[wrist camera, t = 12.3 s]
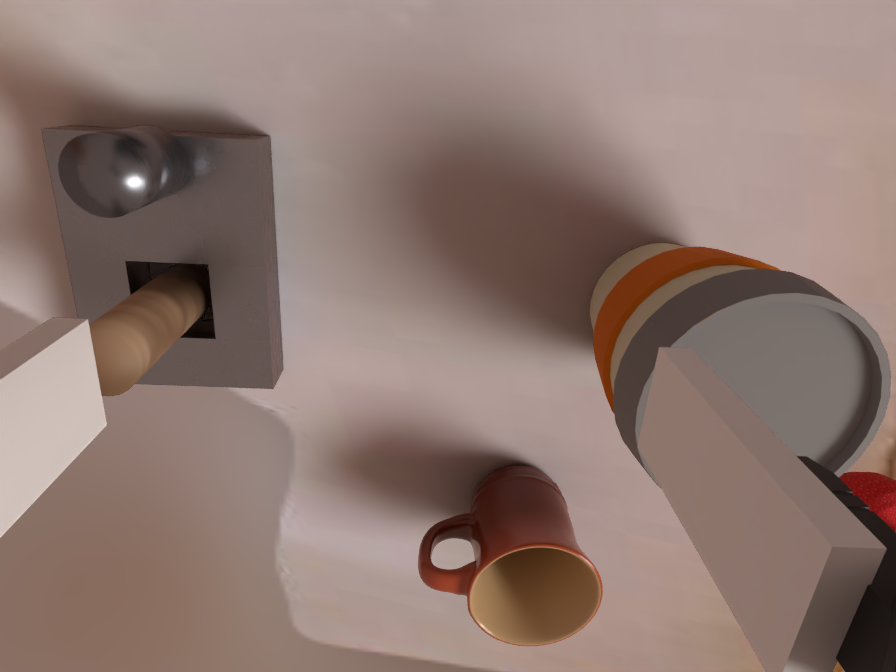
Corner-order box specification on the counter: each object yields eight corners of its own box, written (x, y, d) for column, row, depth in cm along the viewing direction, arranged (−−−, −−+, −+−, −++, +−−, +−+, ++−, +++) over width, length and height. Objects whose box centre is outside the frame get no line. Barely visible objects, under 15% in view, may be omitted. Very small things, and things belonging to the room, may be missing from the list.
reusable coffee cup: (553, 381, 44) (609, 516, 31) (577, 210, 40) (657, 279, 26) (719, 388, 45) (847, 523, 31) (763, 221, 40) (939, 293, 26)
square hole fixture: (69, 116, 36) (-38, 126, 28) (269, 127, 37) (223, 140, 29) (112, 363, 43) (36, 430, 34) (283, 369, 43) (248, 437, 35)
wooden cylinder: (159, 260, 40) (56, 327, 29) (215, 264, 40) (133, 332, 29) (165, 310, 41) (68, 393, 30) (218, 314, 42) (141, 398, 31)
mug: (578, 455, 47) (615, 549, 37) (558, 543, 50) (588, 650, 41) (424, 444, 46) (423, 537, 37) (415, 534, 49) (412, 641, 40)
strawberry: (869, 430, 47) (977, 515, 38) (869, 506, 50) (969, 602, 40) (792, 449, 47) (880, 537, 38) (797, 522, 50) (880, 621, 41)
